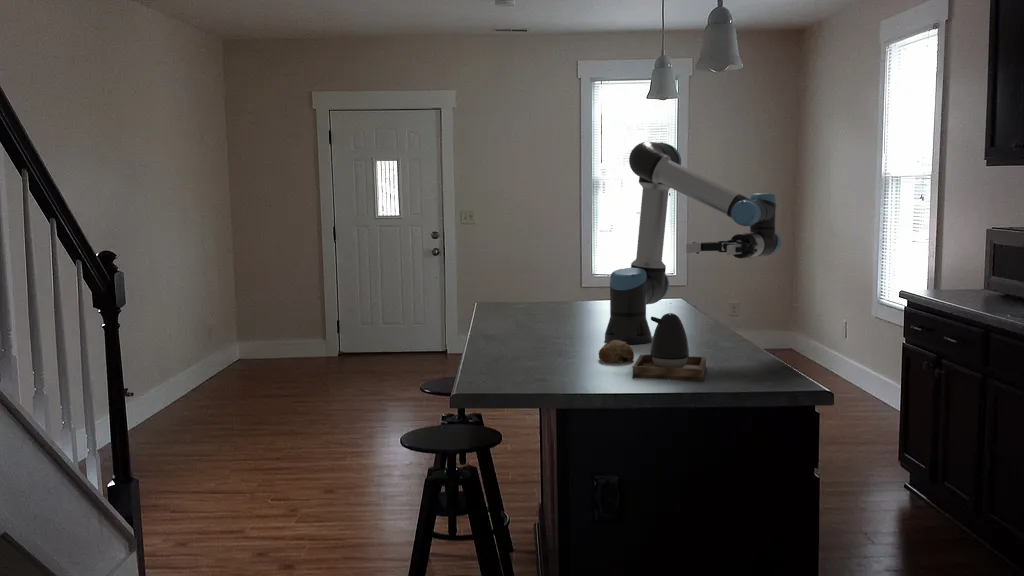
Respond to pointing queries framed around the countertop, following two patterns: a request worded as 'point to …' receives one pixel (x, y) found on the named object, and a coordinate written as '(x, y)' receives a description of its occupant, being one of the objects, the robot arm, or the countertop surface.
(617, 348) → the bread roll
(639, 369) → the walnut tray
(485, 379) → the countertop surface
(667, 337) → the pump dispenser
